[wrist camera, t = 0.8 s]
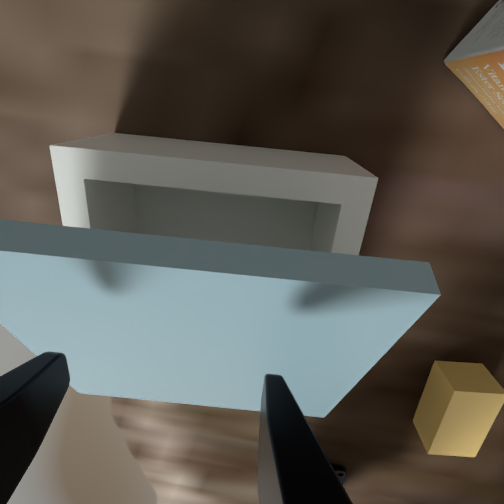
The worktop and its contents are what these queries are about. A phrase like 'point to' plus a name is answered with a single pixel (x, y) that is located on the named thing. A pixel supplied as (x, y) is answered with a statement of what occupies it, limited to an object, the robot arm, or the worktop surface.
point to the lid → (204, 313)
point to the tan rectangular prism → (457, 408)
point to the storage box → (213, 192)
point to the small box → (483, 61)
